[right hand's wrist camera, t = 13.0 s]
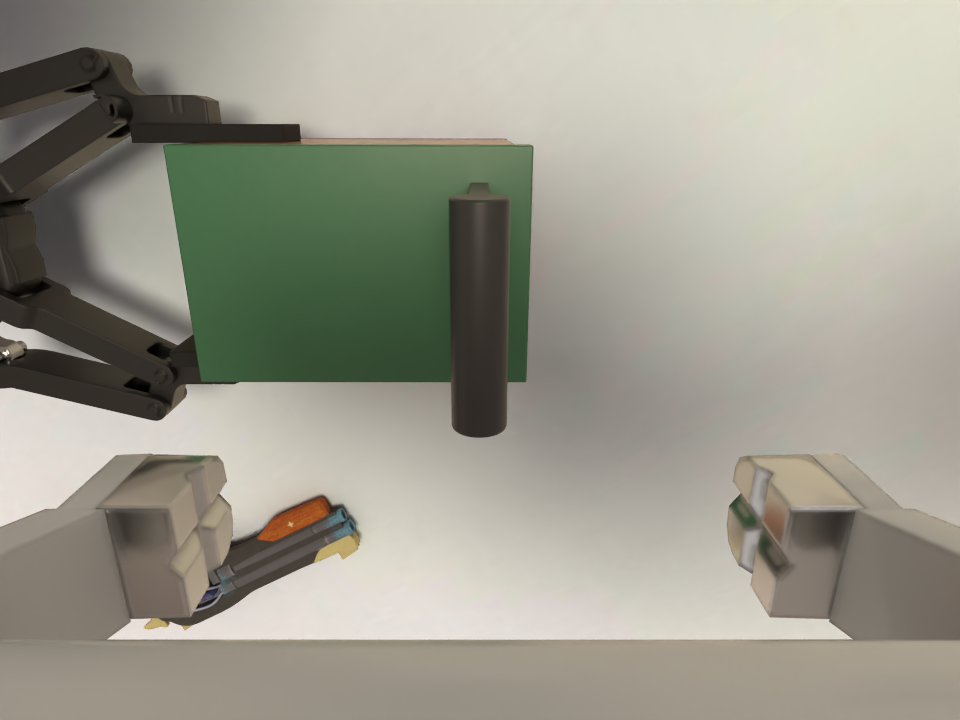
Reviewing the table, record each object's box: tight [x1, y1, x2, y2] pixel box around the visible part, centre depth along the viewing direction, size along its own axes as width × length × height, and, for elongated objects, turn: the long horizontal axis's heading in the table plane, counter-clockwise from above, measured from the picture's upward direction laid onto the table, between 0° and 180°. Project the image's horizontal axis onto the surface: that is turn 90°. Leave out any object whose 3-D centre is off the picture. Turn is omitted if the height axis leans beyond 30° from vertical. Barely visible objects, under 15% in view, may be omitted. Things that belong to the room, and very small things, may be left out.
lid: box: [163, 144, 533, 438], centre depth 23 cm, size 14×10×9 cm
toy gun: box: [144, 497, 360, 630], centre depth 42 cm, size 3×19×10 cm
